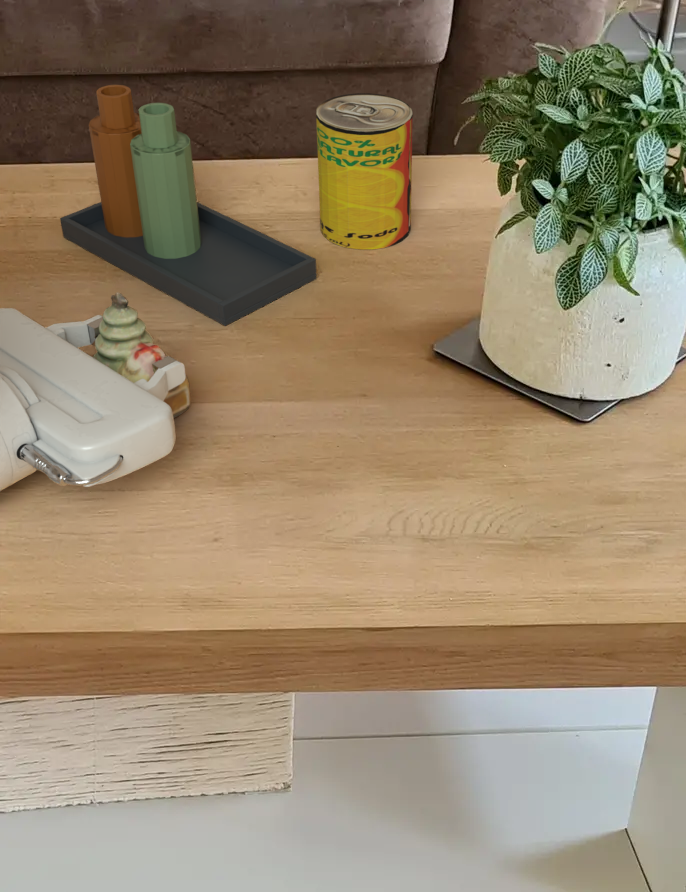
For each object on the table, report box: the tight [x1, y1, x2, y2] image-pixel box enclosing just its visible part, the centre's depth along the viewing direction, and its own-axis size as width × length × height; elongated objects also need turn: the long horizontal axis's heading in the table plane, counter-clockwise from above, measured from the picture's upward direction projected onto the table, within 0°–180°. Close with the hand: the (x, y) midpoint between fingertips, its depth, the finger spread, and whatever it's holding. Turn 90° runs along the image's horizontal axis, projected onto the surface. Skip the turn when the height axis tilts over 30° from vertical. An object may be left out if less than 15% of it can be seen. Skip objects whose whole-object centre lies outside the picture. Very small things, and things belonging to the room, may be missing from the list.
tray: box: [59, 201, 317, 327], centre depth 110 cm, size 23×11×2 cm, turn 50°
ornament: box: [92, 292, 192, 419], centre depth 88 cm, size 8×6×10 cm
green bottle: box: [130, 102, 201, 259], centre depth 107 cm, size 5×5×14 cm
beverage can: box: [315, 92, 414, 250], centre depth 112 cm, size 9×9×12 cm
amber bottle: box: [88, 84, 143, 237], centre depth 110 cm, size 5×5×14 cm
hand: (142, 345), depth 88 cm, fingers closed on ornament, 7 cm apart
